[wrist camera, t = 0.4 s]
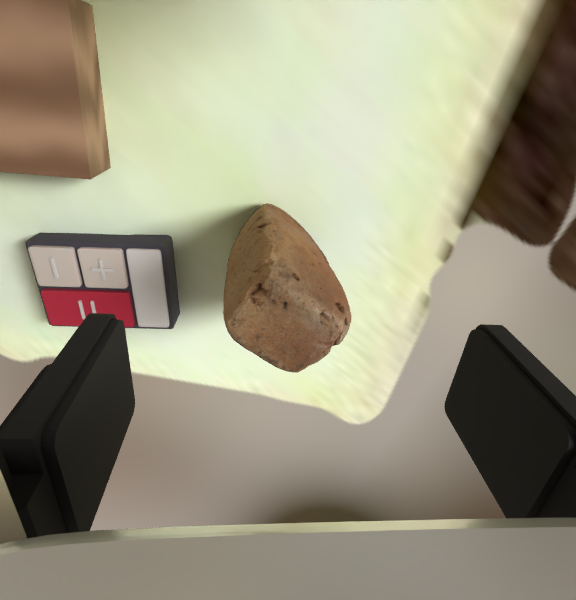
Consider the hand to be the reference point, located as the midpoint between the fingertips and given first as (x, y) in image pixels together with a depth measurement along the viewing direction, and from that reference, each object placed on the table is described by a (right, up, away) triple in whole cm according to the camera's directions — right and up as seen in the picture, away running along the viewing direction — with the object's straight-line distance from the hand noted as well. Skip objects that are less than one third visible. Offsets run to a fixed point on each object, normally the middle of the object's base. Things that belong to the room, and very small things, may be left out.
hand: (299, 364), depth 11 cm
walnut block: (-25, +22, +27) cm, 43 cm away
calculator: (-22, +5, +38) cm, 44 cm away
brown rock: (-1, +9, +37) cm, 38 cm away
